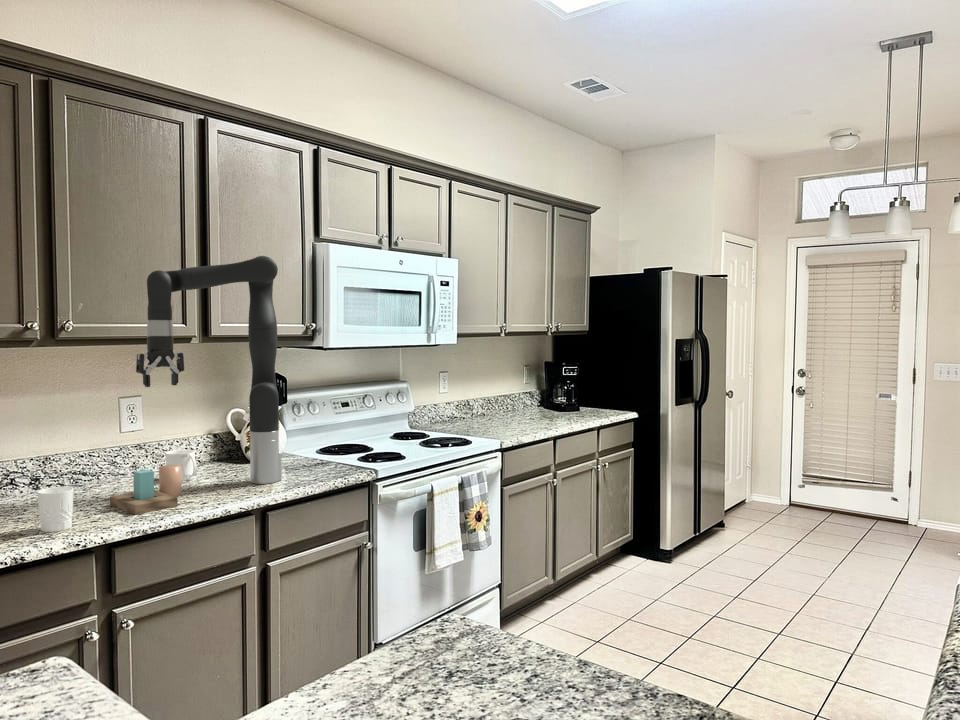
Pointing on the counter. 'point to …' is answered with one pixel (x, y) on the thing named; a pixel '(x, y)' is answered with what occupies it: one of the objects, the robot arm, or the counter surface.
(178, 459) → the mug
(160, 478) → the round peg
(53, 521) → the white cup
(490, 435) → the counter surface
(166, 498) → the board
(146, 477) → the square peg
